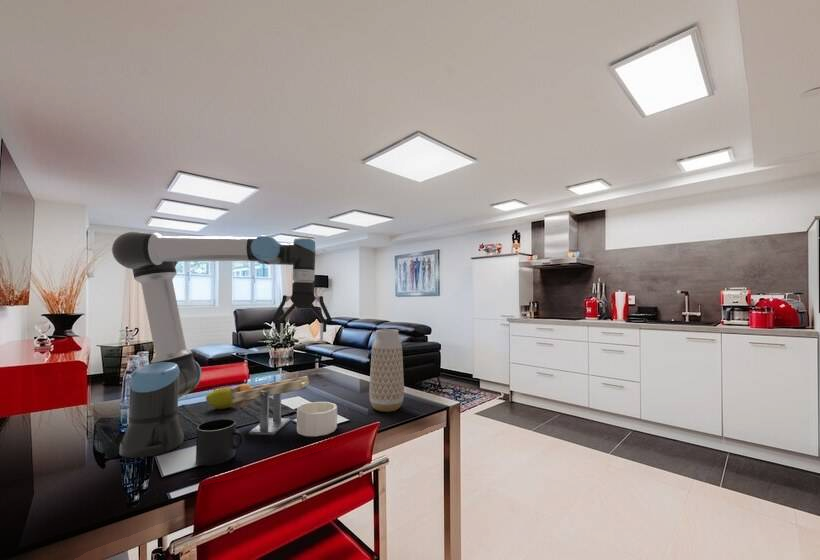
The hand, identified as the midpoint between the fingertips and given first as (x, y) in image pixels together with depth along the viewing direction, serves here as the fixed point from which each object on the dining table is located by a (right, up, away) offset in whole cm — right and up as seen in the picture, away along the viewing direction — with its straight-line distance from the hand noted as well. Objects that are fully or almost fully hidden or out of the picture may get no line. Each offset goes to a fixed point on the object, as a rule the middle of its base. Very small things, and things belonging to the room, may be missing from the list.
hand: (301, 342), depth 125 cm
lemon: (-35, -29, +13) cm, 47 cm away
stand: (-9, -28, -6) cm, 30 cm away
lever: (-8, -19, -1) cm, 20 cm away
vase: (+29, -29, +15) cm, 44 cm away
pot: (+7, -28, -7) cm, 30 cm away
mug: (-13, -27, -28) cm, 41 cm away
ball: (-18, -15, -4) cm, 24 cm away
